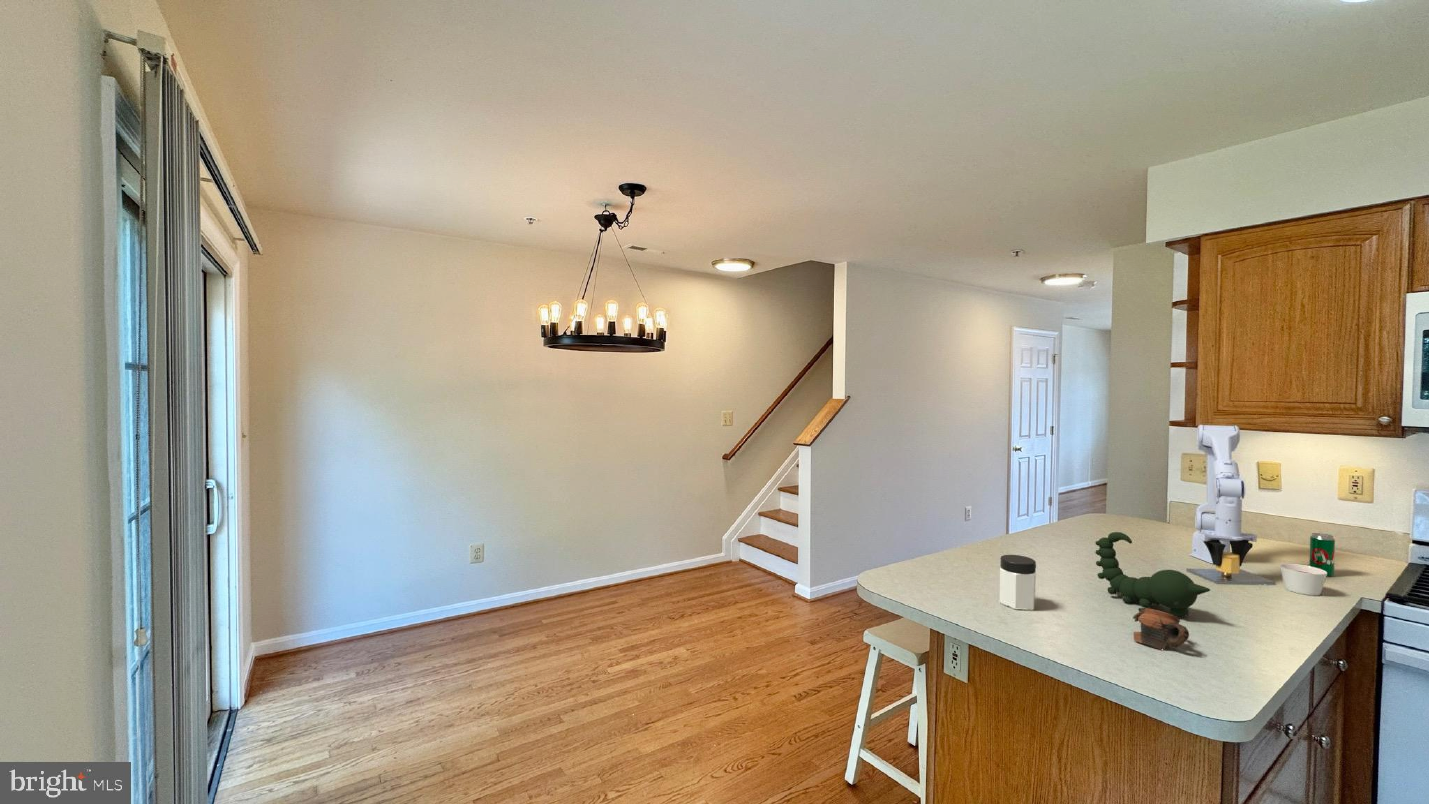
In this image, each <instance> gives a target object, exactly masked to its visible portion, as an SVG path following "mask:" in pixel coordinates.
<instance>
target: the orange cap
mask: <svg viewBox="0 0 1429 804" xmlns="http://www.w3.org/2000/svg"><path fill="white" fill-rule="evenodd" d="M1239 556H1240V555H1238V554H1236V553H1232V551H1230V552H1226V551H1223V555H1222V564H1221V566H1217V565H1215V566H1214V567H1215V568H1214V569H1216V570H1219V571H1221V572H1226V573H1237V574H1238V573H1239V569H1240V567H1241V566H1240V557H1239Z"/></svg>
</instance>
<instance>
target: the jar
mask: <svg viewBox="0 0 1429 804" xmlns="http://www.w3.org/2000/svg"><path fill="white" fill-rule="evenodd" d="M999 561H1000V568H999V603H1000V602H1001V603H1004V604H1006V605H1009V606H1011V607H1013V608H1021V609H1023V608H1026V609H1034V610H1035V607H1034V606H1036V580H1037V579H1036V578H1037V577H1036V574H1037V573H1036V571H1037V570H1036V569H1037V564H1036V560H1035V559H1033V558H1031V557H1028V556H1024V555H1019V554H1004V555H1001V556H1000V560H999Z"/></svg>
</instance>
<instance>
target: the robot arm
mask: <svg viewBox="0 0 1429 804" xmlns="http://www.w3.org/2000/svg"><path fill="white" fill-rule="evenodd" d="M1196 438H1197V439H1196V443H1197V445H1196V446H1197V449H1198V450H1199V451H1201V452H1204V454H1205V458H1206V501H1205V502H1203V503H1201V504H1199V505H1198V506H1196V508H1195V515H1194V527H1195V529H1196V531H1194V532H1193V534H1192V540H1191V542H1192V543H1191V553H1189V554H1188V555H1190V556H1191V557H1194V558H1197V559H1199V560H1202V561H1204V562H1207V563H1209V564H1212V565H1214V566H1216V565H1217V566H1221V564H1222V555H1223V551H1226V552H1232V553H1236V554H1238V555H1240V556H1239V557H1240V567H1242V565H1243V562H1244V561H1245V560H1244V559H1245V557H1246V556H1247V554H1248V552H1249V551H1250V550H1251V549H1252V548H1253V543H1252V542H1254V543H1255V542H1257V540H1258V539H1257V538H1258V537H1257V536H1258V535H1257V534H1254V533H1246V532H1245V533H1244V532H1242V517H1243V516H1242V512H1243V500H1244V499H1245V496H1246V484H1245V480H1244V479H1243V477H1242V476H1240V469H1239V466H1238V462H1236V461H1235V460H1233V458H1232V452H1235V450H1236V449H1237V448H1238V445H1239V443H1240V440H1241V431H1240V427H1239V426H1237V425H1216V424H1215V425H1213V424H1212V425H1209V424H1205V425H1204V424H1199V425H1198V426H1197V430H1196Z"/></svg>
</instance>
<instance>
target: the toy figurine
mask: <svg viewBox="0 0 1429 804" xmlns="http://www.w3.org/2000/svg"><path fill="white" fill-rule="evenodd" d="M1119 541H1125V542H1127V543H1128V544H1129V545H1131V544H1132V543H1133V541H1132V539H1131V537H1129V536H1128V535H1127V534H1125V533H1123V532H1119V531H1118V532H1117V531H1114V532H1110V533H1109V534H1108V535H1107V537H1101V538H1099V540H1096V541H1095V545H1096V546H1098V547H1099V548H1098V549H1096V550H1095V552H1094V553H1095V555H1097V556H1099V557H1100V560H1097V561H1096V562H1095V565H1096V566H1097V567H1100V568H1102V572H1098V573H1097V574H1096V575H1097V578H1098V579H1100V580H1104V579H1105V580H1106V581H1107V582H1109V587H1107V593H1108V594H1110V595H1115V594H1117V593H1118V594H1120V595H1121V596H1122V602H1123V603H1125V604H1127V603H1130V604H1131V603H1133V602H1135V603H1136V602H1139V605H1140V606H1141V608H1148V609H1150V608H1152V606H1153V605H1156V606H1162V607H1165V608H1166V609H1169V612H1170V614H1171V615H1173V616H1175V617H1177V618H1178V619H1180V618H1185V617H1186V616H1188V614H1189V608H1190V607H1191V606H1192V605H1194V604H1195V603H1196V601H1197V599H1198V596H1199V595H1202V594H1205V593H1208V592H1210V591H1211V589H1210V588H1209V587H1206V586H1203V585H1199V584H1197V583H1195V582H1194V581H1193V580H1192V579H1191V577H1189V576H1188V575H1186V574H1184V573H1183V572H1181V571H1178V570H1174V569H1163V570H1162V569H1161V570H1159V571H1156V572H1155V573H1153V574H1152V575H1151V576H1142V577H1139V578H1138V577H1134V576H1128V575H1126V574H1124V572H1123V570H1122V568H1121V567H1120V562H1119V560H1118V559H1117V558H1116V557H1117V551H1116V550H1115V548H1114V543H1117V542H1119Z"/></svg>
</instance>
